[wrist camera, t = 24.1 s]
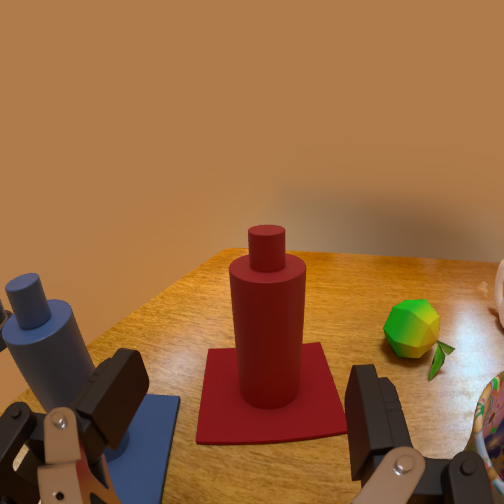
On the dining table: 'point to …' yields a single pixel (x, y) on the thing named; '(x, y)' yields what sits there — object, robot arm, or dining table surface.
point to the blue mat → (146, 452)
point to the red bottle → (268, 318)
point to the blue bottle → (48, 347)
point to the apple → (415, 331)
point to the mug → (490, 434)
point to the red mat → (268, 420)
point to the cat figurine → (499, 292)
